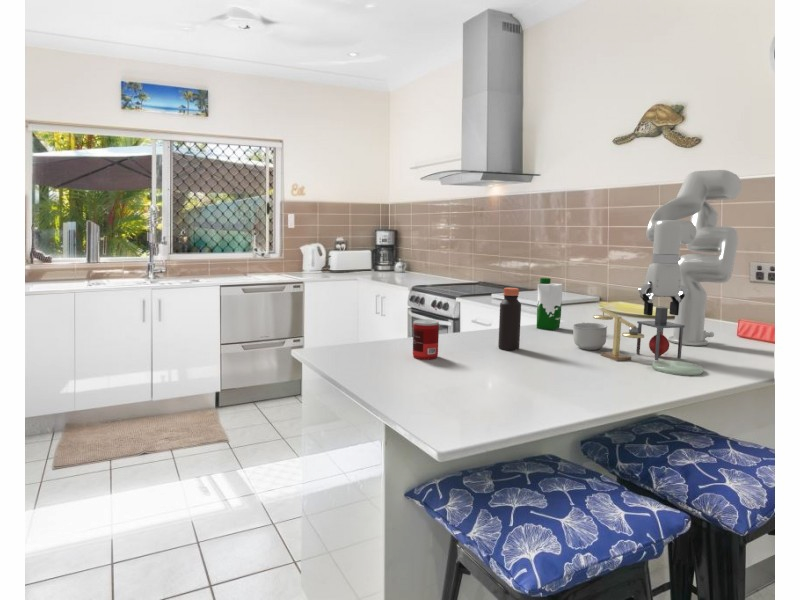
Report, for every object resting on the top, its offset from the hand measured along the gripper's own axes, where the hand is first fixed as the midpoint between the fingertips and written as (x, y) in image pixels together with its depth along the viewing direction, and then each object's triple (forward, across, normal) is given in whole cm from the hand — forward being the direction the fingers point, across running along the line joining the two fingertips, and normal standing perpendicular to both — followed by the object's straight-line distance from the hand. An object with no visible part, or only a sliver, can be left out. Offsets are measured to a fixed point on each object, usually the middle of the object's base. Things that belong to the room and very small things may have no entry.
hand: (660, 314), depth 177 cm
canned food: (+14, +72, -14) cm, 75 cm away
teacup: (+14, +14, -17) cm, 26 cm away
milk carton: (+13, +8, -53) cm, 55 cm away
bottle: (+14, +42, -20) cm, 48 cm away
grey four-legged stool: (+13, 0, 0) cm, 13 cm away
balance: (+14, +14, -1) cm, 20 cm away
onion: (+14, 0, 0) cm, 14 cm away
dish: (+14, +6, +16) cm, 22 cm away
